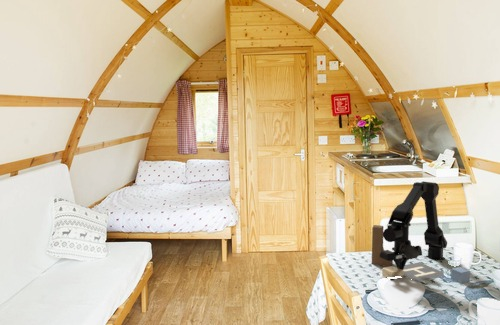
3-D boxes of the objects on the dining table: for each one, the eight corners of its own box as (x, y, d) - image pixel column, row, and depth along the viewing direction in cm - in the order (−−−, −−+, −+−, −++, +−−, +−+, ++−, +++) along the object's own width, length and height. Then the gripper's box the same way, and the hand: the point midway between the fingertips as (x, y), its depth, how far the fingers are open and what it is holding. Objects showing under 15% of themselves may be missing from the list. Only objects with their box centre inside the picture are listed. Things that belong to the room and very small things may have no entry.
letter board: (419, 262, 206) (419, 262, 206) (450, 275, 190) (450, 275, 190) (389, 268, 200) (389, 267, 199) (418, 282, 183) (418, 281, 183)
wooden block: (392, 264, 206) (393, 226, 204) (391, 267, 201) (392, 229, 199) (373, 261, 209) (373, 224, 207) (371, 264, 205) (372, 227, 203)
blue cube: (459, 278, 187) (460, 267, 187) (469, 282, 183) (470, 270, 182) (450, 280, 185) (451, 268, 185) (460, 284, 181) (461, 272, 180)
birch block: (393, 274, 193) (393, 265, 192) (402, 279, 187) (403, 270, 187) (382, 276, 190) (382, 267, 190) (391, 281, 185) (391, 272, 184)
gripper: (397, 245, 178) (396, 282, 179) (432, 239, 185) (430, 275, 187) (379, 238, 188) (378, 273, 190) (413, 233, 195) (411, 266, 197)
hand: (400, 272), depth 190 cm, fingers closed
